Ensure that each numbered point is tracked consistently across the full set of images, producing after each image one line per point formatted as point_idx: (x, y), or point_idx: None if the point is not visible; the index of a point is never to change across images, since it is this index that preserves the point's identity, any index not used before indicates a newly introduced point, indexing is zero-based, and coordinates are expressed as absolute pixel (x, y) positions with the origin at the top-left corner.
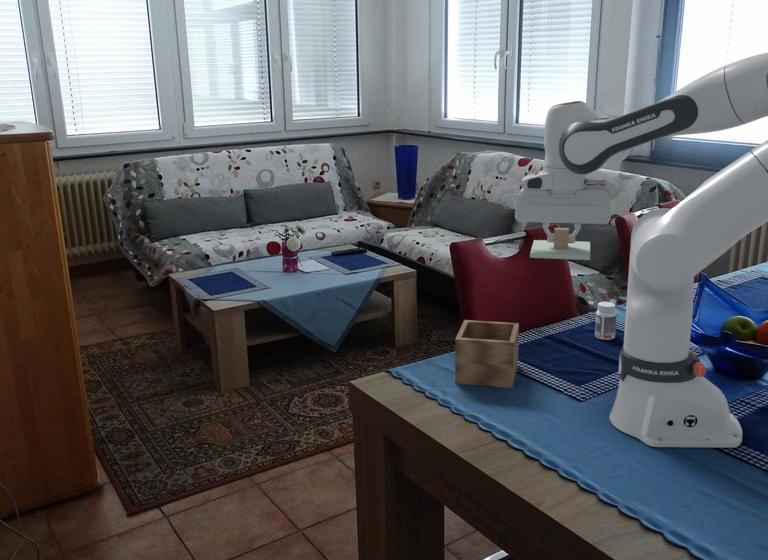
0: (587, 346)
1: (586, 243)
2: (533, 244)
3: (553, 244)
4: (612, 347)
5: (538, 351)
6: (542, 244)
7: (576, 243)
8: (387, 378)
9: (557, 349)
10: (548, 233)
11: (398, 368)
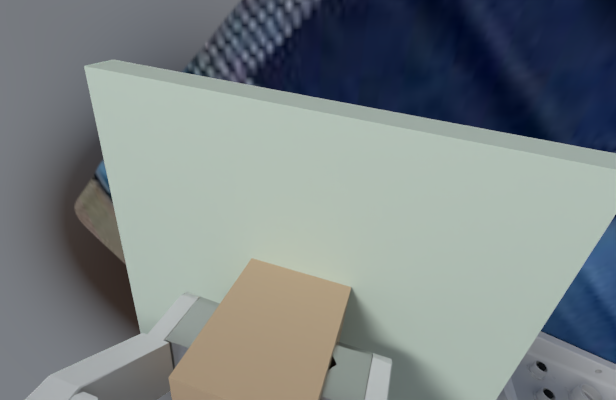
0: (502, 25)
1: (554, 237)
2: (119, 213)
3: (246, 231)
4: (589, 29)
5: (347, 74)
6: (173, 220)
7: (446, 222)
8: (103, 200)
9: (400, 57)
10: (154, 393)
11: (101, 164)
